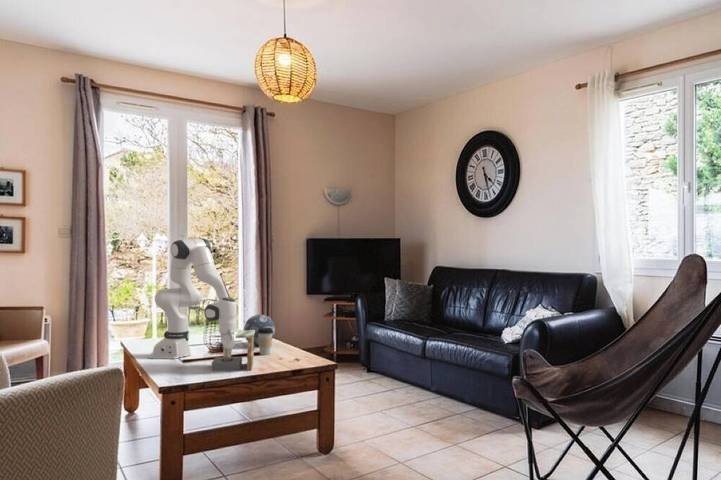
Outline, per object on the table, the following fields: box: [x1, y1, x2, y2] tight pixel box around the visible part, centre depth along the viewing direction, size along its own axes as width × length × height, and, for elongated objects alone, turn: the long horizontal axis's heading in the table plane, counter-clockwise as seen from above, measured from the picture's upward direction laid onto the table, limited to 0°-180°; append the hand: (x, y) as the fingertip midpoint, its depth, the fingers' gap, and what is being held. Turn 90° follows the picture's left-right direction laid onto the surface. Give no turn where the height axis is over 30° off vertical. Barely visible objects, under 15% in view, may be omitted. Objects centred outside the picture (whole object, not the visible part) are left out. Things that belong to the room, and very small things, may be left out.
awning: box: [235, 329, 255, 371], centre depth 260 cm, size 8×16×18 cm, turn 8°
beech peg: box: [222, 344, 232, 361], centre depth 259 cm, size 4×4×12 cm
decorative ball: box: [243, 314, 276, 347], centre depth 315 cm, size 20×20×20 cm
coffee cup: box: [257, 328, 273, 356], centre depth 291 cm, size 9×9×15 cm
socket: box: [211, 356, 243, 371], centre depth 259 cm, size 14×12×4 cm
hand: (227, 354), depth 259 cm, fingers open, 8 cm apart
